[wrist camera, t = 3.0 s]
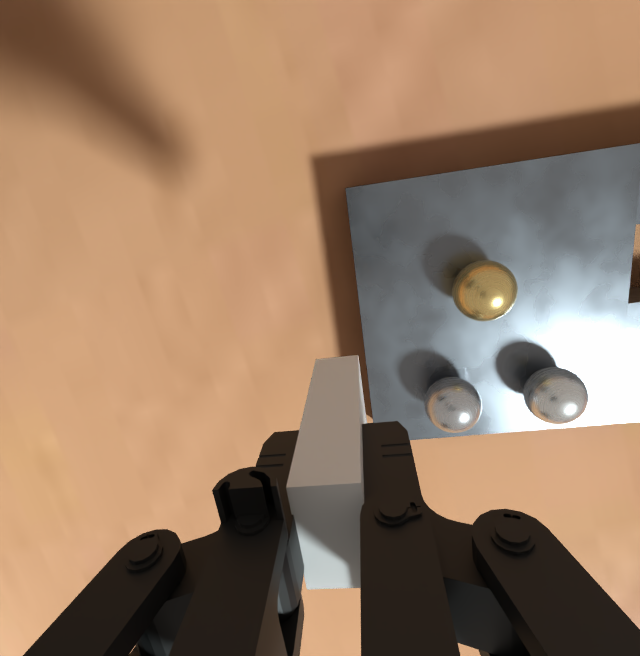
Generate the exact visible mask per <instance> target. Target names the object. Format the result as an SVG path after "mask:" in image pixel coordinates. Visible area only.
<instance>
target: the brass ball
mask: <svg viewBox="0 0 640 656" xmlns="http://www.w3.org/2000/svg"><path fill="white" fill-rule="evenodd" d="M517 294H518V286H517V281H516V279H515V277H514V275H513V273H512V272H511V271H510V270H509V269H508V268H507V267H506V266H504V265H503V264H501V263H498V262H495V261H491V260H482V261H477V262H474V263H471V264H469V265H468V266H466V267H465V268H463V269H462V270H461V271H460V272H459V274H458V275H457V277H456V278H455V280H454V283H453V287H452V296H453V301H454V303H455V305H456V307H457V309H458V310H459V311H460V312H461V313H462V314H463V315H465V316H466V317H468V318H470V319H473V320H476V321H492V320H495V319H498V318H500V317H502V316H503V315H505V314H506V313H507V312H508V311H509V310H510V309H511V308H512V306H513V305H514V303H515V301H516V298H517Z"/></svg>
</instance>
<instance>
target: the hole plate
mask: <svg viewBox="0 0 640 656" xmlns="http://www.w3.org/2000/svg"><path fill="white" fill-rule="evenodd" d="M345 189H346V197H347V206H348V214H349V223H350V231H351V239H352V248H353V256H354V264H355V273H356V281H357V290H358V298H359V306H360V315H361V323H362V332H363V340H364V348H365V357H366V365H367V374H368V382H369V390H370V399H371V407H372V416H373V423H379V422H391V421H398V422H399V423H400V424H401V425H402V426H403V427H404V428H405V429H406V430H407V431H408V435H409V440H418V439H430V438H443V437H455V436H468V435H480V434H493V433H505V432H517V431H530V430H542V429H555V428H567V427H580V426H592V425H605V424H617V423H629V422H640V287H632V288H630V278H631V268H632V257H633V247H634V237H635V226H636V224H640V143H637V144H630V145H624V146H617V147H611V148H604V149H598V150H591V151H585V152H578V153H572V154H565V155H559V156H552V157H546V158H539V159H533V160H526V161H520V162H513V163H506V164H500V165H493V166H487V167H480V168H474V169H467V170H461V171H454V172H448V173H441V174H435V175H428V176H422V177H415V178H409V179H402V180H396V181H389V182H383V183H376V184H369V185H363V186H356V187H350V188H345ZM482 260H491V261H495V262H498V263H501V264H503V265H504V266H506V267H507V268H508V269H509V270H510V271H511V272H512V273H513V275H514V277H515V279H516V281H517V286H518V294H517V298H516V301H515V303H514V305H513V306H512V308H511V309H510V310H509V311H508V312H507V313H506V314H505V315H503V316H502V317H500V318H498V319H495V320H492V321H476V320H473V319H470V318H468V317H466V316H465V315H463V314H462V313H461V312H460V311H459V310H458V309H457V307H456V305H455V303H454V301H453V296H452V287H453V283H454V280H455V278H456V277H457V275H458V274H459V272H460V271H461V270H462V269H463V268H465V267H466V266H468V265H469V264H471V263H474V262H477V261H482ZM548 367H559V368H564V369H567V370H569V371H571V372H573V373H574V374H576V375H577V376H578V377H579V378H580V379H581V380H582V381H583V382H584V384H585V386H586V388H587V391H588V395H589V401H588V405H587V408H586V410H585V412H584V413H583V414H582V415H581V416H580V417H579V418H578V419H576V420H575V421H573V422H570V423H567V424H551V423H547V422H544V421H542V420H540V419H538V418H537V417H535V416H534V415H533V414H532V413H531V412H530V411H529V409H528V408H527V406H526V404H525V401H524V396H523V390H524V386H525V383H526V381H527V380H528V378H529V377H530V376H531V375H532V374H533V373H535V372H536V371H538V370H540V369H543V368H548ZM445 377H458V378H461V379H464V380H466V381H468V382H469V383H471V384H472V385H473V386H474V387H475V388H476V390H477V391H478V393H479V395H480V397H481V400H482V412H481V416H480V418H479V420H478V421H477V423H476V424H475V425H474V426H473V427H472V428H470V429H468V430H466V431H464V432H459V433H450V432H446V431H443V430H441V429H439V428H438V427H436V426H435V425H434V424H433V423H432V422H431V421H430V419H429V418H428V416H427V414H426V411H425V406H424V400H425V395H426V393H427V391H428V389H429V388H430V386H431V385H432V384H433V383H435V382H436V381H438V380H439V379H442V378H445Z"/></svg>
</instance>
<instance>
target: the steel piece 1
mask: <svg viewBox="0 0 640 656" xmlns="http://www.w3.org/2000/svg"><path fill="white" fill-rule="evenodd" d="M424 406H425V411H426V414H427V416H428V418H429V419H430V421H431V422H432V423H433V424H434V425H435V426H436V427H438V428H439V429H441V430H443V431H446V432H450V433H459V432H464V431H466V430H468V429H470V428H472V427H473V426H474V425H475V424H476V423H477V421H478V420H479V418H480V416H481V412H482V400H481V397H480V395H479V393H478V391H477V390H476V388H475V387H474V386H473V385H472V384H471V383H469V382H468V381H466V380H464V379H461V378H458V377H445V378H442V379H439V380H438V381H436V382H435V383H433V384H432V385H431V386H430V388H429V389H428V391H427V393H426V395H425V400H424Z"/></svg>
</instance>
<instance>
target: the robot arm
mask: <svg viewBox="0 0 640 656" xmlns="http://www.w3.org/2000/svg"><path fill="white" fill-rule="evenodd" d="M212 491H213V495H214V498H215V502H216V506H217V509H218V513H219V517H220V520H221V525H220V528H219V530H218V531H216V532H214V533H212V534H210V535H207V536H204V537H201V538H198V539H195V540H192V541H189V542H185V543H182V544H181V542H180V539H179V538H178V536H177V534H176V533H174V532H172V531H170V530H167V529H162V530H153V531H150V532H146V533H143V534H141V535H139V536H138V537H136V538H134V539H132V540H131V541H129V542H128V543H127V544H126V545H125V546H123V547H122V548H121V549H120V550H119V551H118V552H117V553H116V554H115V555H114V556H113V557H112V559H111V560H110V561H109V562H108V563H107V564H106V565H105V566H104V567H103V568H102V570H101V571H100V572H99V573H98V574H97V575H96V576H95V577H94V578H93V579H92V581H91V582H90V583H89V584H88V585H87V586H86V587H85V588H84V589H83V590H82V591H81V593H80V594H79V595H78V596H77V597H76V598H75V599H74V600H73V601H72V602H71V604H70V605H69V606H68V607H67V608H66V609H65V610H64V611H63V612H62V613H61V614H60V616H59V617H58V618H57V619H56V620H55V621H54V622H53V623H52V624H51V625H50V627H49V628H48V629H47V630H46V631H45V632H44V633H43V634H42V635H41V636H40V637H39V639H38V640H37V641H36V642H35V643H34V644H33V645H32V646H31V647H30V648H29V650H28V651H27V652H26V653H25V654H24V655H23V656H299V655H300V646H301V638H302V629H303V621H304V606H303V600H302V595H301V589H302V581H303V574H304V578H305V582H306V587H307V589H334V588H361V656H460V652H459V648H458V643H460V644H463V645H466V646H470V647H473V648H476V649H479V652H480V655H481V656H640V629H639V628H638V627H637V626H636V625H635V624H634V623H633V622H632V621H631V619H630V618H629V617H628V616H627V615H626V614H625V613H624V612H623V611H622V610H621V608H620V607H619V606H618V605H617V604H616V603H615V602H614V601H613V600H612V599H611V598H610V596H609V595H608V594H607V593H606V592H605V591H604V590H603V589H602V588H601V587H600V585H599V584H598V583H597V582H596V581H595V580H594V579H593V578H592V577H591V576H590V574H589V573H588V572H587V571H586V570H585V569H584V568H583V567H582V566H581V565H580V563H579V562H578V561H577V560H576V559H575V558H574V557H573V556H572V555H571V554H570V552H569V551H568V550H567V549H566V548H565V547H564V546H563V545H562V544H561V543H560V541H559V540H558V539H557V538H556V537H555V536H554V535H553V534H552V533H551V532H550V530H549V529H548V528H547V527H545V526H544V525H543V524H542V523H540V522H539V521H538V520H537V519H536V518H533V517H531V516H529V515H527V514H525V513H522V512H519V511H514V510H508V509H499V510H490V511H488V512H486V513H484V514H481V515H480V516H479V517H478V518H477V519H476V521H475V522H474V523H473V525H470V524H466V523H461V522H456V521H453V520H449V519H446V518H444V517H442V516H440V515H438V514H436V513H435V512H434V511H433V510H431V509H430V508H429V507H428V506H427V504H426V503H425V502H424V500H423V497H422V495H421V490H420V486H419V481H418V477H417V472H416V467H415V463H414V458H413V454H412V449H411V445H410V440H409V435H408V431H407V430H406V429H405V428H404V427H403V426H402V425H401V424H400V423H399V422H398V421H391V422H379V423H367V420H366V412H365V404H364V396H363V388H362V380H361V372H360V364H359V356H358V355H352V356H343V357H333V358H323V359H316V361H315V365H314V369H313V374H312V378H311V382H310V387H309V391H308V395H307V400H306V404H305V408H304V412H303V417H302V421H301V425H300V430H297V431H284V432H274V433H273V434H272V435H271V436H270V437H269V438H268V439H267V440H266V442H265V443H264V444H263V447H262V449H261V452H260V455H259V458H258V460H257V463H256V467H248V468H243V469H239V470H237V471H235V472H232V473H230V474H228V475H227V476H225V477H224V478H223V479H221V480H220V481H219V482H218V483H217V484H216V486H215V487H214V489H213V490H212ZM135 645H136V646H135ZM134 646H135V648H134ZM133 648H134V649H133ZM132 649H133V651H132V652H131V650H132ZM130 652H131V653H130ZM129 653H130V654H129Z"/></svg>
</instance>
